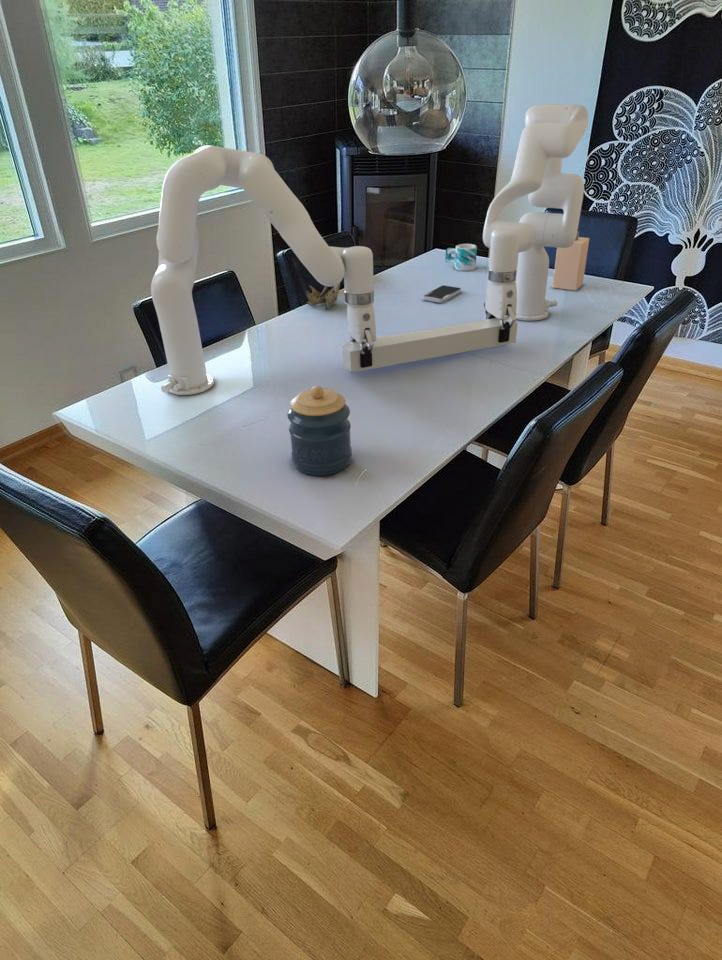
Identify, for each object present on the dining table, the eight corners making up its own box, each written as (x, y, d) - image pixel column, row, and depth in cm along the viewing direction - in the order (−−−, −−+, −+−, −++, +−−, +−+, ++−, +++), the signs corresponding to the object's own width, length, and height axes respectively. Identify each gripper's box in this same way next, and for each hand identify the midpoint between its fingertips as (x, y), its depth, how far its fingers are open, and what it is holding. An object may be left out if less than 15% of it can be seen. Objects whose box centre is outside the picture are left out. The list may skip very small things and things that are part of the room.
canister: (282, 471, 142) (273, 395, 133) (307, 442, 152) (301, 370, 143) (338, 481, 138) (333, 404, 129) (360, 451, 148) (358, 377, 139)
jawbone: (353, 284, 236) (341, 264, 228) (334, 318, 232) (322, 299, 224) (332, 281, 241) (320, 262, 233) (313, 315, 237) (300, 296, 229)
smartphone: (461, 288, 240) (441, 299, 230) (461, 291, 241) (441, 303, 231) (442, 285, 244) (422, 296, 234) (442, 288, 245) (422, 300, 235)
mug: (470, 271, 262) (471, 249, 257) (442, 268, 267) (442, 246, 263) (478, 266, 268) (479, 244, 263) (451, 262, 273) (451, 241, 268)
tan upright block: (559, 281, 247) (567, 218, 235) (582, 284, 243) (592, 220, 231) (548, 290, 238) (556, 226, 226) (572, 294, 234) (581, 228, 222)
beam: (351, 372, 180) (350, 351, 177) (343, 364, 185) (342, 343, 182) (515, 342, 194) (517, 322, 191) (504, 335, 199) (506, 316, 196)
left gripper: (385, 304, 167) (386, 371, 177) (361, 286, 181) (363, 348, 191) (357, 309, 165) (359, 376, 175) (335, 290, 179) (338, 353, 189)
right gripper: (531, 282, 179) (524, 345, 189) (498, 266, 193) (493, 326, 202) (506, 285, 177) (501, 350, 187) (474, 269, 191) (471, 330, 200)
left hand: (361, 361), depth 183 cm, fingers closed on beam, 6 cm apart
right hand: (497, 337), depth 194 cm, fingers closed on beam, 6 cm apart
